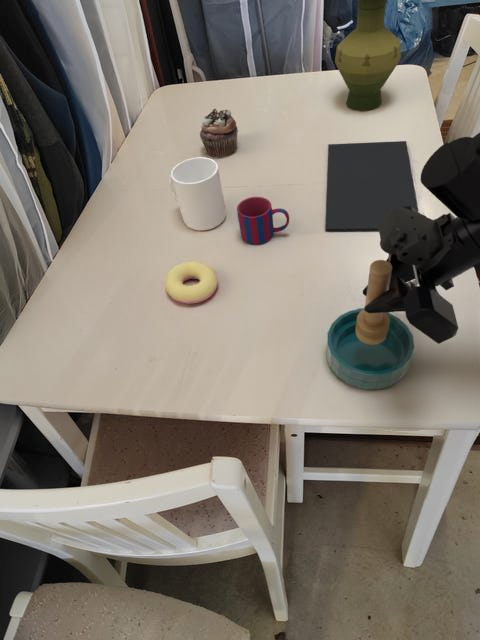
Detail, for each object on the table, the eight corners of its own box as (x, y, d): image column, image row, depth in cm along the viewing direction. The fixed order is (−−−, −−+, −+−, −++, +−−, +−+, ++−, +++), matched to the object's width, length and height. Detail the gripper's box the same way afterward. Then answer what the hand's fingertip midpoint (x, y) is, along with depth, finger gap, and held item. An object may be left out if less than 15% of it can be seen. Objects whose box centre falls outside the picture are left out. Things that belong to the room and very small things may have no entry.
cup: (246, 222, 93) (243, 195, 88) (293, 227, 90) (292, 199, 85) (236, 243, 89) (232, 215, 84) (284, 249, 86) (283, 221, 81)
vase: (323, 99, 125) (325, -34, 102) (375, 84, 126) (389, -50, 103) (350, 123, 114) (359, -18, 91) (406, 107, 116) (429, -36, 93)
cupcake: (242, 139, 116) (237, 100, 108) (236, 159, 110) (231, 119, 102) (207, 140, 118) (199, 102, 110) (199, 160, 112) (191, 122, 104)
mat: (405, 144, 105) (406, 140, 104) (420, 231, 85) (421, 227, 84) (328, 147, 108) (328, 144, 108) (325, 231, 88) (325, 228, 88)
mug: (220, 233, 92) (210, 184, 83) (167, 230, 95) (152, 182, 86) (231, 206, 98) (223, 157, 89) (181, 203, 101) (168, 156, 92)
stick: (364, 316, 66) (372, 250, 56) (392, 328, 64) (406, 262, 54) (349, 336, 64) (356, 271, 54) (378, 349, 62) (390, 284, 52)
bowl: (404, 327, 71) (409, 309, 68) (412, 394, 63) (418, 377, 60) (327, 325, 73) (328, 307, 70) (325, 388, 66) (326, 372, 62)
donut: (193, 273, 88) (158, 297, 83) (187, 253, 86) (151, 277, 81) (229, 286, 83) (195, 313, 78) (225, 265, 80) (189, 291, 75)
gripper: (419, 145, 51) (321, 225, 61) (450, 255, 39) (323, 330, 50) (474, 199, 56) (374, 265, 66) (516, 312, 44) (387, 370, 54)
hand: (365, 302), depth 59 cm, fingers closed on stick, 2 cm apart
